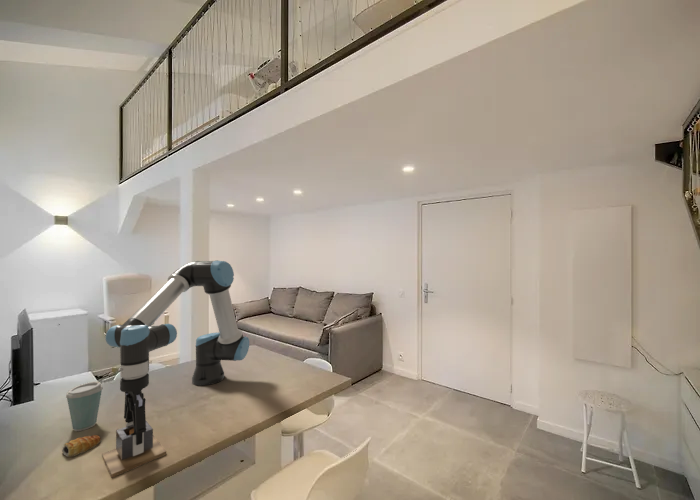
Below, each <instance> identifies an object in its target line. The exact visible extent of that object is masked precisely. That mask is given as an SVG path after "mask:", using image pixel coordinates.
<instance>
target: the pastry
mask: <svg viewBox="0 0 700 500" xmlns="http://www.w3.org/2000/svg"><path fill="white" fill-rule="evenodd" d="M101 442H102V441H101V437H100V435H96V434H92V435H91V436H90V435H85V436H83V437H81V436H80V437H77V438H75V439H72V440H69V442H66V443H64V444H63V447H62V449H61V451H62V454H63V456H66V457H68V458H69V457H70V458H71V457H76V456H78V455H79V454H81V453H82V454H83V453H85V452H87V451H89V450H91V449H93V448H94V447H96V446H98V444H100V443H101Z"/></svg>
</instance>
